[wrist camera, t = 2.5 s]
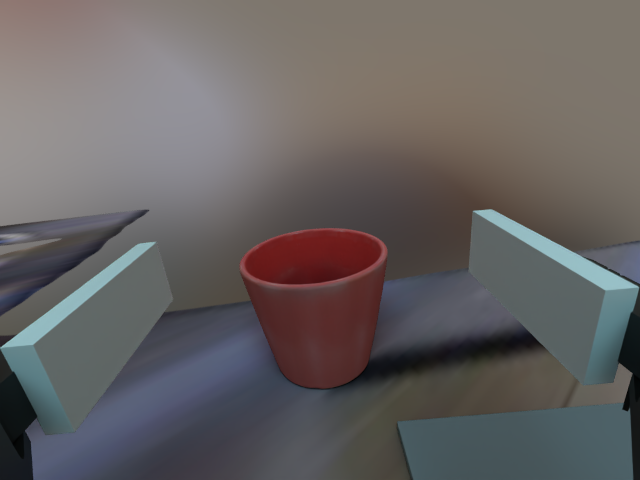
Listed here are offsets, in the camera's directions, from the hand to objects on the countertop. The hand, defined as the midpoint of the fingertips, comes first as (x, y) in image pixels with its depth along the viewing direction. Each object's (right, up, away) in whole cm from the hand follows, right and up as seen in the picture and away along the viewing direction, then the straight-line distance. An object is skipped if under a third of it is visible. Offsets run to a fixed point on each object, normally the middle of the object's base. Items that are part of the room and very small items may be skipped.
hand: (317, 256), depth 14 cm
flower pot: (0, -9, +15) cm, 17 cm away
